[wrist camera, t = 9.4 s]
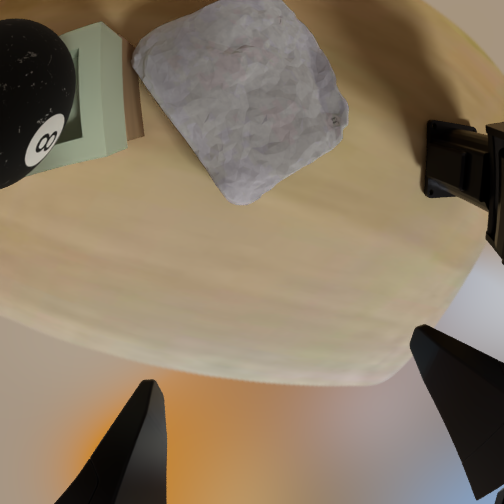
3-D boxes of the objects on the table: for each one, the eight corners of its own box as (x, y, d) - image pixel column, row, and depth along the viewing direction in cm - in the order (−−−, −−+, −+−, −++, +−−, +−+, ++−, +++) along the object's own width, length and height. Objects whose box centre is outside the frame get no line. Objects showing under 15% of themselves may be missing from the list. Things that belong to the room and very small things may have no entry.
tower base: (136, 49, 13) (119, 33, 10) (145, 135, 16) (128, 140, 13) (56, 75, 13) (25, 70, 9) (65, 156, 16) (35, 167, 12)
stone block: (249, 0, 14) (122, 67, 14) (277, -30, 10) (113, 43, 9) (333, 130, 20) (225, 207, 19) (375, 130, 16) (248, 226, 15)
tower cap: (122, 38, 10) (101, 21, 7) (127, 147, 13) (106, 156, 10) (27, 71, 9) (-6, 67, 7) (34, 169, 12) (3, 183, 9)
